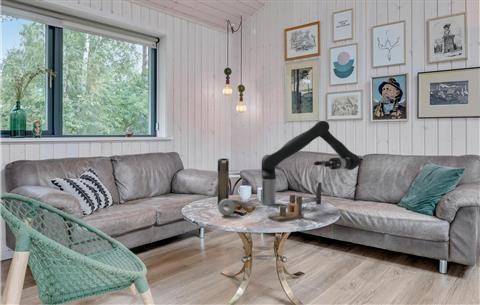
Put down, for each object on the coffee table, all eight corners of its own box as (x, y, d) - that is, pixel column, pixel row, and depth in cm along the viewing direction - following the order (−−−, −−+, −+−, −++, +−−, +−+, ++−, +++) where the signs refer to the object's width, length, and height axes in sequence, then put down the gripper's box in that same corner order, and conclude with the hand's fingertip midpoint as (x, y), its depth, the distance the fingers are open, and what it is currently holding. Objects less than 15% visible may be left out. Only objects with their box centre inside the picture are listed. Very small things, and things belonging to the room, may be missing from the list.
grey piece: (296, 206, 212) (297, 184, 211) (318, 203, 223) (318, 182, 222) (300, 207, 210) (300, 185, 209) (322, 204, 220) (322, 182, 219)
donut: (218, 216, 207) (218, 199, 206) (217, 215, 210) (217, 198, 209) (235, 216, 208) (235, 199, 207) (234, 214, 211) (234, 198, 211)
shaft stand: (268, 218, 203) (268, 197, 203) (292, 214, 214) (292, 194, 214) (278, 221, 196) (279, 200, 195) (303, 217, 207) (303, 196, 206)
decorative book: (228, 205, 237) (228, 160, 235) (217, 205, 237) (217, 160, 235) (229, 198, 260) (229, 157, 258) (219, 198, 260) (219, 157, 258)
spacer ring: (287, 213, 211) (287, 202, 210) (290, 212, 212) (290, 202, 211) (296, 215, 205) (296, 205, 205) (298, 214, 206) (298, 204, 206)
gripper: (328, 156, 237) (311, 157, 227) (346, 158, 225) (329, 159, 216) (328, 168, 237) (311, 169, 228) (345, 170, 226) (328, 171, 216)
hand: (319, 164), depth 222 cm, fingers open, 8 cm apart
